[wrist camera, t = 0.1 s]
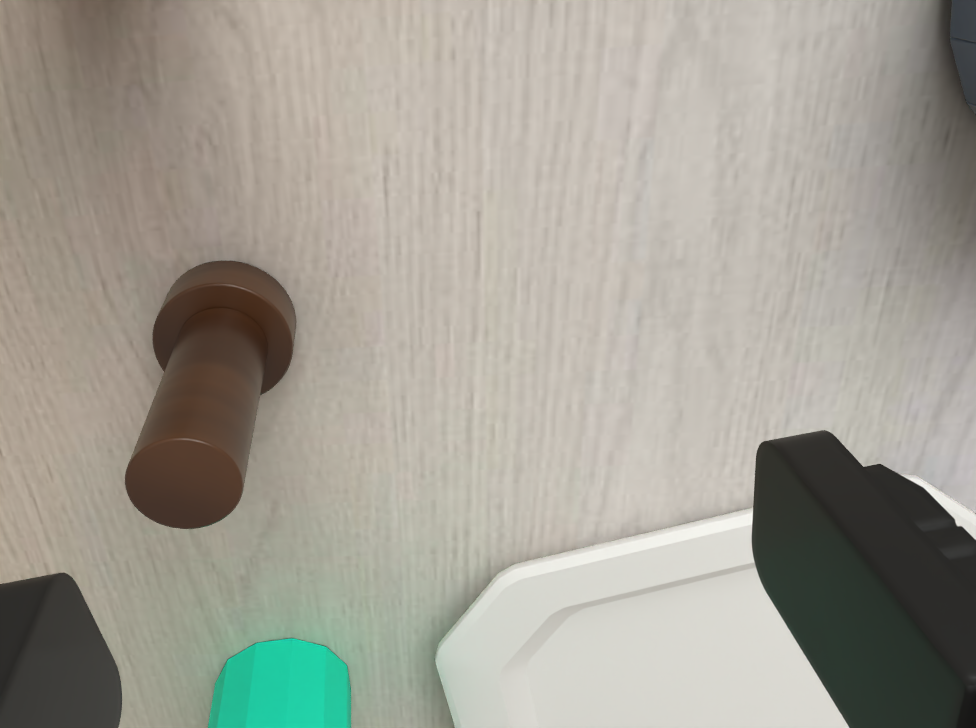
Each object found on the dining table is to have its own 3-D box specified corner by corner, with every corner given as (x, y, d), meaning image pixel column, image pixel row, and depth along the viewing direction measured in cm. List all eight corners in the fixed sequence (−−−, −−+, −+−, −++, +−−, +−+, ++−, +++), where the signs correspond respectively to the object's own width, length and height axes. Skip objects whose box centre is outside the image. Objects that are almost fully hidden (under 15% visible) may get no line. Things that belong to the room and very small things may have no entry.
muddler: (181, 241, 27) (110, 388, 19) (312, 283, 29) (298, 437, 21) (150, 354, 29) (72, 533, 21) (275, 388, 30) (248, 569, 22)
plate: (410, 560, 35) (414, 597, 33) (969, 428, 36) (1003, 458, 34) (505, 878, 48) (511, 918, 46) (919, 773, 49) (943, 809, 47)
